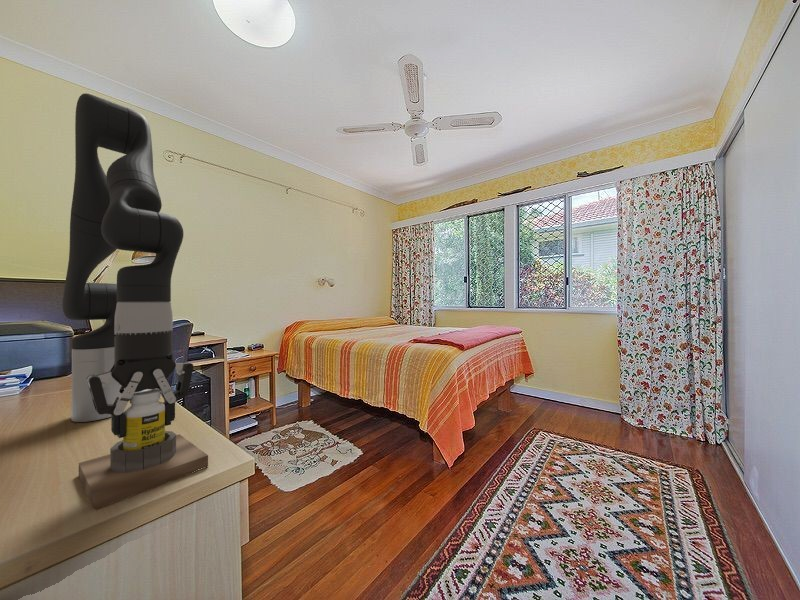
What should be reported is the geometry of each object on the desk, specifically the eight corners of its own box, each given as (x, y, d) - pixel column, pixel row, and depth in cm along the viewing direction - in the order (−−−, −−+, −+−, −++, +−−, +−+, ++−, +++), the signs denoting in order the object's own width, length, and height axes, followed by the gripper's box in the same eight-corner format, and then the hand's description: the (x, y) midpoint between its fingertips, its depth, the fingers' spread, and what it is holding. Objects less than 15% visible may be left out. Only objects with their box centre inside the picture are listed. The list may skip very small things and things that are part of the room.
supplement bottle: (141, 460, 49) (141, 398, 49) (114, 457, 50) (114, 396, 50) (173, 444, 54) (173, 388, 54) (147, 442, 55) (147, 386, 55)
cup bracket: (78, 475, 51) (78, 444, 51) (179, 444, 62) (179, 419, 62) (93, 510, 42) (93, 473, 42) (208, 466, 53) (208, 437, 53)
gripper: (186, 325, 60) (186, 413, 60) (80, 331, 49) (80, 439, 49) (201, 327, 55) (201, 422, 55) (88, 334, 44) (87, 453, 44)
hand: (144, 429), depth 52 cm, fingers closed on supplement bottle, 5 cm apart
